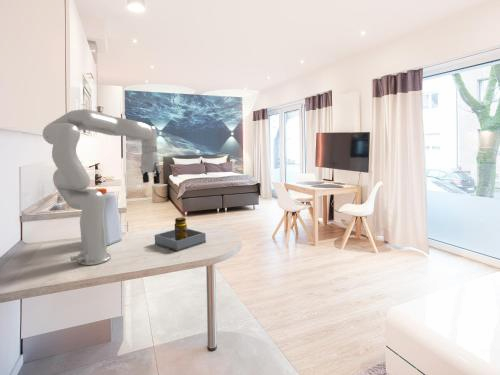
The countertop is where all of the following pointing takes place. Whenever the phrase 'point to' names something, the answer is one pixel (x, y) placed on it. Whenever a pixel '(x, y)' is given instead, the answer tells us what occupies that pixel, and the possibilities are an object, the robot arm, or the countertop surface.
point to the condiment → (180, 228)
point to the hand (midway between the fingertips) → (151, 183)
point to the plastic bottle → (111, 218)
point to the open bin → (170, 243)
